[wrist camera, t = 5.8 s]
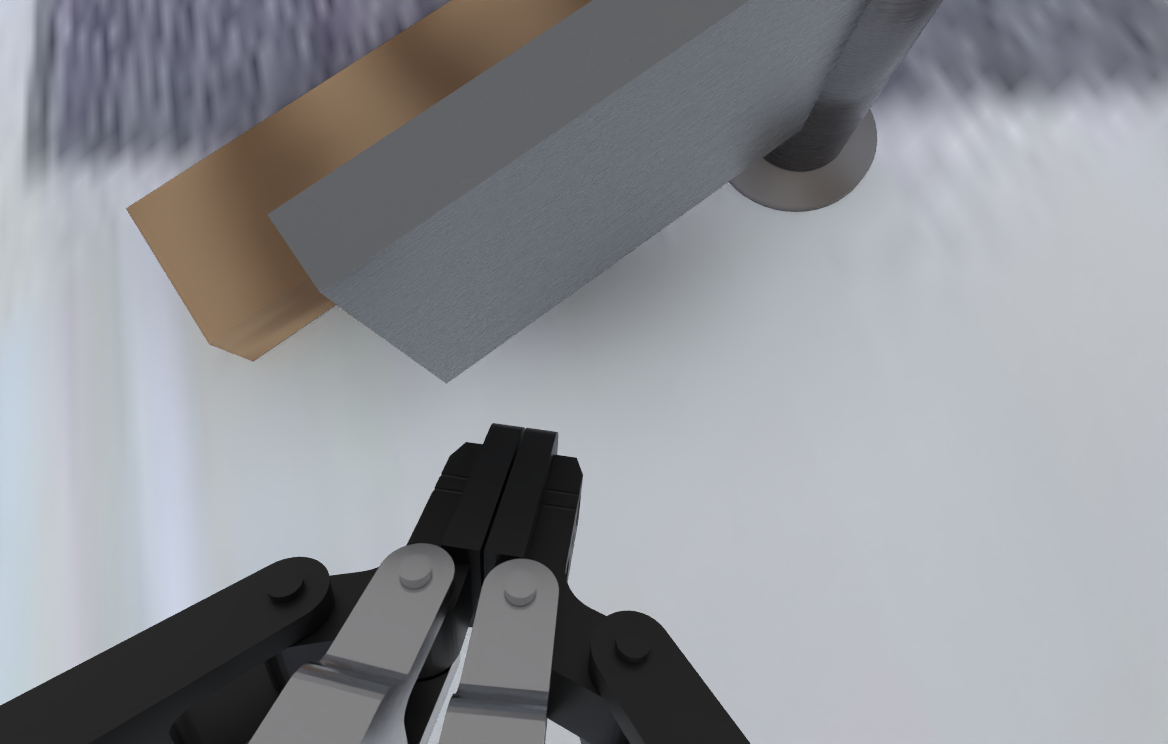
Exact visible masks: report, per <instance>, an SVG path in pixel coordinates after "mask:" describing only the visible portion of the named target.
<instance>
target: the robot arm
mask: <svg viewBox="0 0 1168 744" xmlns="http://www.w3.org/2000/svg"><path fill="white" fill-rule="evenodd" d="M557 447H558V432H553V431H546V430H539V429H532V428H526V429H525V428H524V427H517V426H509V425H502V424H495V423H493V424H492V425H491V427H490V429H489V431H488V434H487V436H486V438H485V441H484V443H483V444H476V443H469V442H466V443H465V444H463V445H462V446H461V447H460V448H459V449H458V450H456V451H455V452H454V453H453V454H452V455H450V457H449V459H448V461H447V463H446V465H445V467H444V469H443V471H442V475H441V477H439V480H438V482H437V484H436V486H435V490H434V491H433V492H432V494H431V496H430V498H429V500H428V502H427V504H426V506H425V508H424V511H423V513H422V515H421V517H420V519H419V521H418V523H417V525H416V527H415V529H414V531H413V533H412V535H411V537H410V539H409V542H408V543H407V545H406V546H404V547H402V548H399V549H398V550H396V551H394V552H393V553H391V554H390V555H389V556H388V557H387V558H386V559H385V560H384V561H383V562H382V563H381V565H380V566H379V567H378V568H375V569H372V570H368V571H363V572H355V573H348V574H340V575H332V576H329V573H328V571H327V569H326V567H325V566H324V565H323V564H322V563H320V562H319V561H317V560H315V559H312V558H307V557H292V558H287V559H283V560H280V561H277V562H275V563H273V564H271V565H269V566H267V567H265V568H263V569H261V570H259V571H257V572H256V573H254V574H252V575H250V576H248V577H246V578H244V579H242V580H240V581H238V582H236V583H234V584H233V585H231V586H229V587H227V588H225V589H223V590H221V591H219V592H217V593H215V594H213V595H211V596H210V597H208V598H206V599H204V600H202V601H200V602H198V603H196V604H194V605H192V606H190V607H188V608H187V609H185V610H183V611H181V612H179V613H177V614H175V615H173V616H171V617H169V618H167V619H165V620H164V621H162V622H160V623H158V624H156V625H154V626H152V627H150V628H148V629H146V630H144V631H142V632H141V633H139V634H137V635H135V636H133V637H131V638H129V639H127V640H125V641H123V642H121V643H119V644H118V645H116V646H114V647H112V648H110V649H108V650H106V651H104V652H102V653H100V654H98V655H96V656H95V657H93V658H91V659H89V660H87V661H85V662H83V663H81V664H79V665H77V666H75V667H73V668H71V669H70V670H68V671H66V672H64V673H62V674H60V675H58V676H56V677H54V678H52V679H50V680H48V681H47V682H45V683H43V684H41V685H39V686H37V687H35V688H33V689H31V690H29V691H27V692H25V693H24V694H22V695H20V696H18V697H16V698H14V699H12V700H10V701H8V702H6V703H4V704H2V705H1V706H0V744H427V743H428V741H429V738H430V736H431V733H432V731H433V728H434V726H435V723H436V721H437V718H438V716H439V713H440V711H441V708H442V706H443V703H444V701H445V698H446V696H447V693H448V691H449V688H450V686H451V683H452V681H453V678H454V676H455V673H456V671H457V668H458V665H459V662H460V651H461V648H462V645H463V642H464V639H465V635H466V632H467V629H468V627H473V628H472V633H471V637H470V641H469V646H468V650H467V654H466V659H465V663H464V667H463V671H462V676H461V680H460V684H459V687H458V690H457V692H456V694H453V695H452V697H451V699H450V702H449V705H448V708H447V712H446V716H445V720H444V724H443V728H442V732H441V736H440V740H439V744H545V738H546V728H547V718H548V719H550V720H552V721H553V722H555V723H557V724H559V725H560V726H562V727H564V728H565V729H567V730H569V731H570V732H572V733H574V734H575V735H577V736H579V737H580V741H581V744H750V742H749V741H748V740H747V738H746V737H745V736H744V734H743V733H742V732H741V730H740V729H739V728H738V726H737V725H736V724H735V722H734V721H733V720H732V718H731V717H730V716H729V714H728V713H727V712H726V710H725V709H724V708H723V706H722V705H721V704H720V702H719V701H718V700H717V698H716V697H715V696H714V694H713V693H712V692H711V690H710V689H709V688H708V686H707V685H706V684H705V682H704V681H703V680H702V678H701V677H700V676H699V674H698V673H697V672H696V670H695V669H694V668H693V666H692V665H691V664H690V662H689V661H688V660H687V658H686V657H685V656H684V654H683V653H682V652H681V650H680V649H679V648H678V646H677V645H676V644H675V642H674V641H673V640H672V638H671V637H670V636H669V634H668V633H667V632H666V630H665V629H664V628H663V627H662V626H661V625H660V624H659V623H658V622H657V621H656V620H654V619H653V618H651V617H650V616H648V615H645V614H643V613H640V612H636V611H620V612H615V613H613V614H610V615H608V616H605V615H603V614H601V613H599V612H597V611H595V610H593V609H591V608H589V607H588V606H586V605H584V604H583V603H582V602H581V601H579V600H578V599H577V598H576V597H575V595H574V594H573V593H572V591H571V590H570V588H569V586H568V583H567V581H568V576H569V570H570V564H571V558H572V553H573V548H574V541H575V536H576V531H577V525H578V518H579V508H580V499H581V489H582V479H583V474H582V471H581V468H580V466H579V463H578V460H577V458H574V457H567V456H560V455H557Z"/></svg>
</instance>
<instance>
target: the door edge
mask: <svg viewBox="0 0 1168 744" xmlns="http://www.w3.org/2000/svg"><path fill="white" fill-rule="evenodd" d="M591 1H592V0H451V1H450V2H448V3H446V4H445V5H443V6H442V7H440V8H439V9H437V10H436V11H434V12H432V13H431V14H429V15H428V16H426V17H425V18H423V19H421V20H420V21H418V22H417V23H415V24H414V25H412V26H410V27H409V28H407V29H406V30H404V31H403V32H401V33H400V34H398V35H396V36H395V37H393V38H392V39H390V40H389V41H387V42H385V43H384V44H382V45H381V46H379V47H378V48H376V49H375V50H373V51H371V52H370V53H368V54H367V55H365V56H364V57H362V58H360V59H359V60H357V61H356V62H354V63H353V64H351V65H350V66H348V67H346V68H345V69H343V70H342V71H340V72H339V73H337V74H335V75H334V76H332V77H331V78H329V79H328V80H326V81H325V82H323V83H321V84H320V85H318V86H317V87H315V88H314V89H312V90H310V91H309V92H307V93H306V94H304V95H303V96H301V97H300V98H298V99H296V100H295V101H293V102H292V103H290V104H289V105H287V106H285V107H284V108H282V109H281V110H279V111H278V112H276V113H275V114H273V115H271V116H270V117H268V118H267V119H265V120H264V121H262V122H260V123H259V124H257V125H256V126H254V127H253V128H251V129H250V130H248V131H246V132H245V133H243V134H242V135H240V136H239V137H237V138H235V139H234V140H232V141H231V142H229V143H228V144H226V145H225V146H223V147H221V148H220V149H218V150H217V151H215V152H214V153H212V154H210V155H209V156H207V157H206V158H204V159H203V160H201V161H199V162H198V163H196V164H195V165H193V166H192V167H190V168H189V169H187V170H185V171H184V172H182V173H181V174H179V175H178V176H176V177H174V178H173V179H171V180H170V181H168V182H167V183H165V184H164V185H162V186H160V187H159V188H157V189H156V190H154V191H153V192H151V193H149V194H148V195H146V196H145V197H143V198H142V199H140V200H139V201H137V202H135V203H134V204H132V205H131V206H129V207H128V208H126V209H127V211H128V213H129V214H130V216H131V217H132V219H133V221H134V222H135V224H136V226H137V227H138V229H139V230H140V232H141V234H142V235H143V237H144V239H145V240H146V242H147V244H148V245H149V247H150V248H151V250H152V252H153V253H154V255H155V257H156V258H157V260H158V261H159V263H160V265H161V266H162V268H163V270H164V271H165V273H166V274H167V276H168V278H169V279H170V281H171V283H172V284H173V286H174V288H175V289H176V291H177V292H178V294H179V296H180V297H181V299H182V301H183V302H184V304H185V305H186V307H187V309H188V310H189V312H190V314H191V315H192V317H193V319H194V320H195V322H196V323H197V325H198V327H199V328H200V330H201V332H202V333H203V335H204V336H205V338H206V340H207V341H208V343H209V344H210V345H213V346H215V347H218V348H220V349H223V350H225V351H228V352H231V353H233V354H236V355H238V356H241V357H243V358H246V359H249V360H251V361H254V360H256V359H257V358H259V357H260V356H262V355H263V354H265V353H266V352H267V351H269V350H270V349H272V348H273V347H275V346H276V345H278V344H279V343H281V342H282V341H284V340H285V339H286V338H288V337H289V336H291V335H292V334H294V333H295V332H297V331H298V330H300V329H301V328H303V327H304V326H305V325H307V324H308V323H310V322H311V321H313V320H314V319H316V318H317V317H319V316H320V315H322V314H323V313H324V312H326V311H327V310H329V309H330V308H332V307H333V306H335V305H336V304H335V303H334V302H332V301H331V300H330V299H328V298H327V297H325V296H324V295H323V294H321V293H320V292H319V291H318V289H317V288H316V286H315V285H314V283H313V282H312V280H311V279H310V277H309V276H308V274H307V273H306V271H305V270H304V268H303V267H302V265H301V264H300V262H299V261H298V259H297V258H296V256H295V255H294V253H293V252H292V250H291V249H290V248H289V246H288V245H287V243H286V242H285V240H284V239H283V237H282V236H281V234H280V233H279V231H278V230H277V228H276V227H275V225H274V224H273V222H272V221H271V219H270V218H269V216H268V215H267V214H269V213H270V212H272V211H273V210H275V209H276V208H278V207H279V206H281V205H282V204H284V203H285V202H287V201H288V200H290V199H291V198H293V197H294V196H296V195H297V194H299V193H300V192H302V191H304V190H305V189H307V188H308V187H310V186H311V185H313V184H314V183H316V182H317V181H319V180H320V179H322V178H323V177H325V176H326V175H328V174H329V173H331V172H332V171H334V170H335V169H337V168H338V167H340V166H341V165H343V164H345V163H346V162H348V161H349V160H351V159H352V158H354V157H355V156H357V155H358V154H360V153H361V152H363V151H364V150H366V149H367V148H369V147H370V146H372V145H373V144H375V143H376V142H378V141H379V140H381V139H382V138H384V137H386V136H387V135H389V134H390V133H392V132H393V131H395V130H396V129H398V128H399V127H401V126H402V125H404V124H405V123H407V122H408V121H410V120H411V119H413V118H414V117H416V116H417V115H419V114H420V113H422V112H424V111H425V110H427V109H428V108H430V107H431V106H433V105H434V104H436V103H437V102H439V101H440V100H442V99H443V98H445V97H446V96H448V95H449V94H451V93H452V92H454V91H455V90H457V89H458V88H460V87H461V86H463V85H465V84H466V83H468V82H469V81H471V80H472V79H474V78H475V77H477V76H478V75H480V74H481V73H483V72H484V71H486V70H487V69H489V68H490V67H492V66H493V65H495V64H496V63H498V62H499V61H501V60H503V59H504V58H506V57H507V56H509V55H510V54H512V53H513V52H515V51H516V50H518V49H519V48H521V47H522V46H524V45H525V44H527V43H528V42H530V41H531V40H533V39H534V38H536V37H537V36H539V35H540V34H542V33H544V32H545V31H547V30H548V29H550V28H551V27H553V26H554V25H556V24H557V23H559V22H560V21H562V20H563V19H565V18H566V17H568V16H569V15H571V14H572V13H574V12H575V11H577V10H578V9H580V8H582V7H583V6H585V5H586V4H588V3H589V2H591ZM876 146H877V130H876V125H875V121H874V118H873V115H872V112H871V110H870V109H869V111H868V112H867V114H866V115H865V117H864V118H863V119H862V121H861V122H860V124H859V125H858V127H857V128H856V130H855V131H854V133H853V134H852V136H851V137H850V139H849V140H848V142H847V143H846V145H845V146H844V148H843V149H842V151H841V152H840V154H839V155H838V156H837V157H836V158H835V159H834V160H833V161H832V162H830V163H829V164H827V165H826V166H824V167H821V168H819V169H816V170H813V171H807V172H793V171H787V170H784V169H780V168H778V167H776V166H774V165H772V164H770V163H769V162H767V161H766V160H765V159H763V158H761V159H760V160H758V161H757V162H756V163H754V164H753V165H751V166H750V167H749V168H747V169H746V170H744V171H743V172H742V173H740V174H739V175H737V176H736V177H735V178H733V179H732V180H730V181H729V183H730V184H731V185H732V186H733V187H734V188H735V189H736V190H738V191H739V192H740V193H741V194H743V195H744V196H745V197H747V198H749V199H750V200H752V201H754V202H756V203H758V204H761V205H763V206H765V207H769V208H772V209H776V210H782V211H791V212H801V211H810V210H816V209H819V208H823V207H826V206H828V205H831V204H833V203H835V202H837V201H839V200H840V199H842V198H843V197H845V196H846V195H847V194H848V193H850V192H851V191H852V190H853V189H854V188H855V187H856V186H857V185H858V183H859V182H860V181H861V180H862V179H863V177H864V176H865V174H866V173H867V171H868V170H869V168H870V166H871V164H872V161H873V159H874V155H875V152H876Z"/></svg>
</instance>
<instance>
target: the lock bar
mask: <svg viewBox="0 0 1168 744" xmlns="http://www.w3.org/2000/svg"><path fill="white" fill-rule="evenodd" d="M942 1H943V0H592V1H591V2H589V3H588V4H586V5H585V6H583V7H582V8H580V9H578V10H577V11H575V12H574V13H572V14H571V15H569V16H568V17H566V18H565V19H563V20H562V21H560V22H559V23H557V24H556V25H554V26H553V27H551V28H550V29H548V30H547V31H545V32H544V33H542V34H540V35H539V36H537V37H536V38H534V39H533V40H531V41H530V42H528V43H527V44H525V45H524V46H522V47H521V48H519V49H518V50H516V51H515V52H513V53H512V54H510V55H509V56H507V57H506V58H504V59H503V60H501V61H499V62H498V63H496V64H495V65H493V66H492V67H490V68H489V69H487V70H486V71H484V72H483V73H481V74H480V75H478V76H477V77H475V78H474V79H472V80H471V81H469V82H468V83H466V84H465V85H463V86H461V87H460V88H458V89H457V90H455V91H454V92H452V93H451V94H449V95H448V96H446V97H445V98H443V99H442V100H440V101H439V102H437V103H436V104H434V105H433V106H431V107H430V108H428V109H427V110H425V111H424V112H422V113H420V114H419V115H417V116H416V117H414V118H413V119H411V120H410V121H408V122H407V123H405V124H404V125H402V126H401V127H399V128H398V129H396V130H395V131H393V132H392V133H390V134H389V135H387V136H386V137H384V138H382V139H381V140H379V141H378V142H376V143H375V144H373V145H372V146H370V147H369V148H367V149H366V150H364V151H363V152H361V153H360V154H358V155H357V156H355V157H354V158H352V159H351V160H349V161H348V162H346V163H345V164H343V165H341V166H340V167H338V168H337V169H335V170H334V171H332V172H331V173H329V174H328V175H326V176H325V177H323V178H322V179H320V180H319V181H317V182H316V183H314V184H313V185H311V186H310V187H308V188H307V189H305V190H304V191H302V192H300V193H299V194H297V195H296V196H294V197H293V198H291V199H290V200H288V201H287V202H285V203H284V204H282V205H281V206H279V207H278V208H276V209H275V210H273V211H272V212H270V213H269V214H267V215H268V216H269V218H270V219H271V221H272V222H273V224H274V225H275V227H276V228H277V230H278V231H279V233H280V234H281V236H282V237H283V239H284V240H285V242H286V243H287V245H288V246H289V248H290V249H291V250H292V252H293V253H294V255H295V256H296V258H297V259H298V261H299V262H300V264H301V265H302V267H303V268H304V270H305V271H306V273H307V274H308V276H309V277H310V279H311V280H312V282H313V283H314V285H315V286H316V288H317V289H318V291H319V292H320V293H321V294H323V295H324V296H325V297H327V298H328V299H330V300H331V301H332V302H334V303H335V304H337V305H338V306H339V307H341V308H342V309H343V310H345V311H346V312H348V313H349V314H350V315H352V316H353V317H355V318H356V319H357V320H359V321H360V322H362V323H363V324H364V325H366V326H367V327H369V328H370V329H371V330H373V331H374V332H375V333H377V334H378V335H380V336H381V337H382V338H384V339H385V340H387V341H388V342H389V343H391V344H392V345H394V346H395V347H396V348H398V349H399V350H400V351H402V352H403V353H405V354H406V355H407V356H409V357H410V358H412V359H413V360H414V361H416V362H417V363H419V364H420V365H421V366H423V367H424V368H426V369H427V370H428V371H430V372H431V373H432V374H434V375H435V376H437V377H438V378H439V379H441V380H442V381H444V382H445V383H446V384H447V383H448V382H449V381H451V380H452V379H454V378H455V377H456V376H458V375H459V374H461V373H462V372H463V371H465V370H466V369H468V368H469V367H470V366H472V365H473V364H475V363H476V362H477V361H479V360H480V359H482V358H483V357H484V356H486V355H487V354H489V353H490V352H491V351H493V350H494V349H496V348H497V347H498V346H500V345H501V344H503V343H504V342H505V341H507V340H508V339H510V338H511V337H512V336H514V335H515V334H517V333H518V332H519V331H521V330H522V329H524V328H525V327H526V326H528V325H529V324H531V323H532V322H533V321H535V320H536V319H538V318H539V317H540V316H542V315H543V314H544V313H546V312H547V311H549V310H550V309H551V308H553V307H554V306H556V305H557V304H558V303H560V302H561V301H563V300H564V299H565V298H567V297H568V296H570V295H571V294H572V293H574V292H575V291H577V290H578V289H579V288H581V287H582V286H584V285H585V284H586V283H588V282H589V281H591V280H592V279H593V278H595V277H596V276H598V275H599V274H600V273H602V272H603V271H605V270H606V269H607V268H609V267H610V266H612V265H613V264H614V263H616V262H617V261H619V260H620V259H621V258H623V257H624V256H626V255H627V254H628V253H630V252H631V251H633V250H634V249H635V248H637V247H638V246H640V245H641V244H642V243H644V242H645V241H647V240H648V239H649V238H651V237H652V236H654V235H655V234H656V233H658V232H659V231H661V230H662V229H663V228H665V227H666V226H668V225H669V224H670V223H672V222H673V221H675V220H676V219H677V218H679V217H680V216H681V215H683V214H684V213H686V212H687V211H688V210H690V209H691V208H693V207H694V206H695V205H697V204H698V203H700V202H701V201H702V200H704V199H705V198H707V197H708V196H709V195H711V194H712V193H714V192H715V191H716V190H718V189H719V188H721V187H722V186H723V185H725V184H726V183H728V182H729V181H730V180H732V179H733V178H735V177H736V176H737V175H739V174H740V173H742V172H743V171H744V170H746V169H747V168H749V167H750V166H751V165H753V164H754V163H756V162H757V161H758V160H760V159H761V158H763V159H765V160H766V161H767V162H769V163H770V164H772V165H774V166H776V167H778V168H780V169H784V170H787V171H793V172H807V171H813V170H816V169H819V168H821V167H824V166H826V165H827V164H829V163H830V162H832V161H833V160H834V159H835V158H836V157H837V156H838V155H839V154H840V152H841V151H842V149H843V148H844V146H845V145H846V143H847V142H848V140H849V139H850V137H851V136H852V134H853V133H854V131H855V130H856V128H857V127H858V125H859V124H860V122H861V121H862V119H863V118H864V117H865V115H866V114H867V112H868V111H869V109H870V108H871V106H872V105H873V103H874V102H875V100H876V99H877V97H878V96H879V94H880V93H881V91H882V90H883V88H884V87H885V85H886V84H887V82H888V81H889V79H890V78H891V77H892V75H893V74H894V72H895V71H896V69H897V68H898V66H899V65H900V63H901V62H902V60H903V59H904V57H905V56H906V54H907V53H908V51H909V50H910V48H911V47H912V45H913V44H914V42H915V41H916V40H917V38H918V37H919V35H920V34H921V32H922V31H923V29H924V28H925V26H926V25H927V23H928V22H929V20H930V19H931V17H932V16H933V14H934V13H935V11H936V10H937V8H938V7H939V5H940V4H941V2H942Z"/></svg>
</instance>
